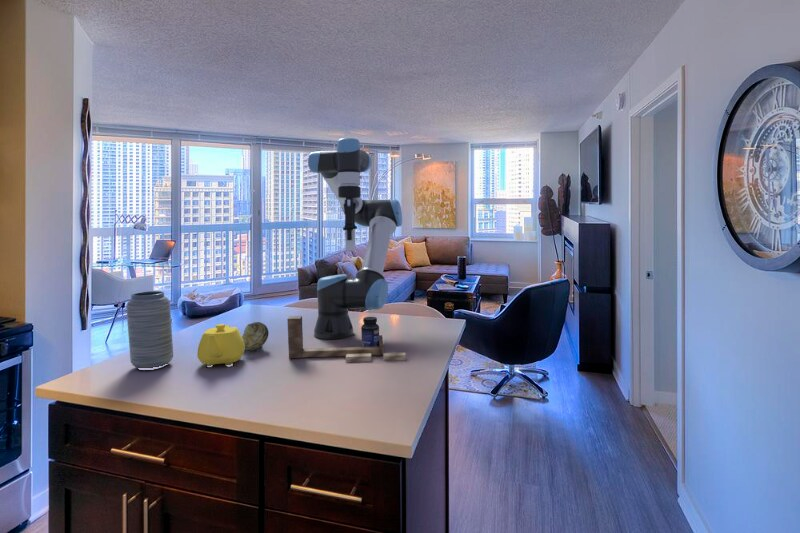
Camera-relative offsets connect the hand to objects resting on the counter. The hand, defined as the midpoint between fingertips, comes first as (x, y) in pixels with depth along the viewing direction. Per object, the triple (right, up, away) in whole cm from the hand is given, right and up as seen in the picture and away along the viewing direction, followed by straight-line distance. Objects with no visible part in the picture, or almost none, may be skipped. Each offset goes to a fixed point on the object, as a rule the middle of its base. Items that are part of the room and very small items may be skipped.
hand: (350, 248), depth 151 cm
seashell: (-34, -35, +4) cm, 49 cm away
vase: (-60, -37, -14) cm, 72 cm away
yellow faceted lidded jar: (-39, -37, -12) cm, 55 cm away
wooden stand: (-4, -35, 0) cm, 35 cm away
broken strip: (+10, -36, -9) cm, 38 cm away
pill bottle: (+7, -35, +2) cm, 36 cm away
